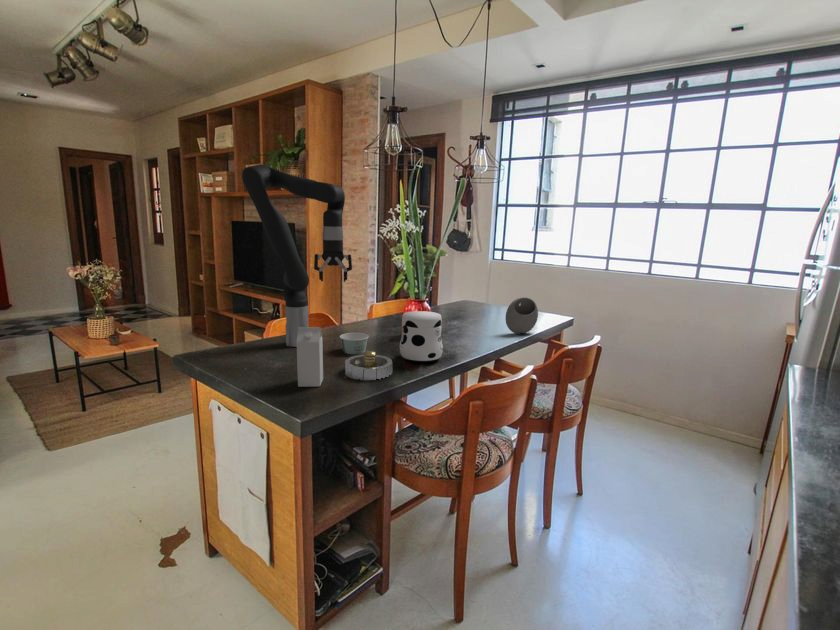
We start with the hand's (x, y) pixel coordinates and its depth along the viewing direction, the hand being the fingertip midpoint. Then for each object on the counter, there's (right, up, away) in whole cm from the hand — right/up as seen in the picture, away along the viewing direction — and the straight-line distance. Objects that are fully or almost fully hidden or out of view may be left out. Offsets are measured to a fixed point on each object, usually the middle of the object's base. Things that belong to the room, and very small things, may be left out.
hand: (333, 281), depth 166 cm
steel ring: (+15, -34, -12) cm, 39 cm away
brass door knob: (+16, -34, -12) cm, 39 cm away
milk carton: (-3, -36, -24) cm, 43 cm away
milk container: (+34, -31, +5) cm, 46 cm away
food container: (+6, -28, +13) cm, 32 cm away
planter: (+84, -23, +50) cm, 101 cm away
